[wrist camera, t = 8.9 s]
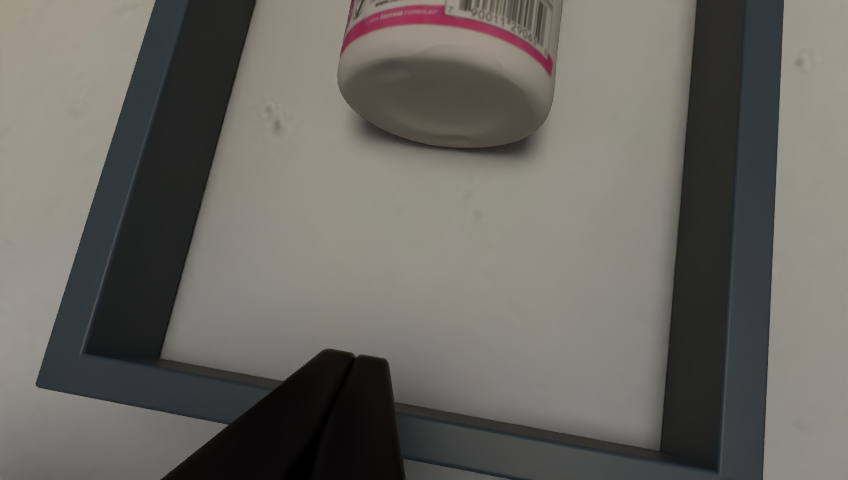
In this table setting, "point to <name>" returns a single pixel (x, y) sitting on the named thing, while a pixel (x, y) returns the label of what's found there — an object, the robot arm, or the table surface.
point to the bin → (418, 427)
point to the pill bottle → (451, 68)
